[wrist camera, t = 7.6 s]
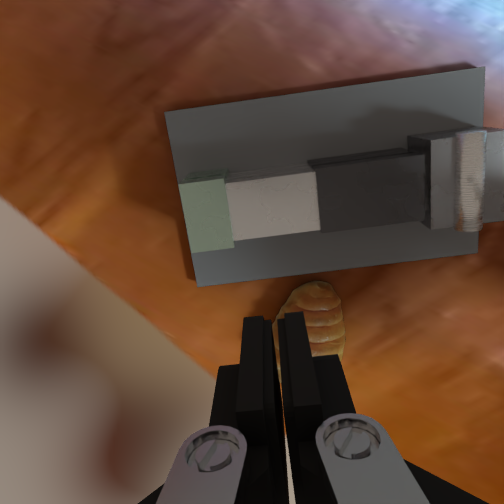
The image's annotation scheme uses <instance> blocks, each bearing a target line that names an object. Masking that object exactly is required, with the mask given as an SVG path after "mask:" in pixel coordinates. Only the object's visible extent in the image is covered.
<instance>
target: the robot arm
mask: <svg viewBox="0 0 504 504" xmlns="http://www.w3.org/2000/svg"><path fill="white" fill-rule="evenodd" d="M277 326H278V341H279V355H280V370H281V384H282V397H281V390H280V382H279V375H278V367H277V360H276V352H275V345H274V337H273V330H272V322H271V320H264V318H263V316H254V317H245V318H244V320H243V332H242V343H241V354H240V364H235V365H225V366H220V367H219V369H218V375H217V381H216V387H215V393H214V399H213V405H212V411H211V417H210V423H209V427H207V428H204V429H201V430H199V431H197V432H195V433H193V434H192V435H191V436H190V437H188V438H187V439H186V440H185V441H184V442H183V444H182V446H181V447H180V449H179V451H178V454H177V456H176V458H175V460H174V463H173V465H172V468H171V470H170V472H169V474H168V477H167V479H166V481H165V483H164V484H163V485H162V486H160V487H159V488H158V489H157V490H155V491H154V492H153V493H151V494H150V495H149V496H147V497H146V498H145V499H143V500H142V501H141V502H139V503H138V504H289V492H288V477H287V463H286V449H285V448H286V447H285V433H284V418H285V426H286V434H287V441H288V448H289V456H290V463H291V471H292V479H293V486H294V494H295V501H296V504H489V503H487V502H485V501H483V500H481V499H479V498H477V497H475V496H473V495H471V494H470V493H468V492H466V491H464V490H462V489H460V488H458V487H456V486H454V485H452V484H450V483H448V482H447V481H445V480H443V479H441V478H439V477H437V476H435V475H433V474H431V473H429V472H427V471H425V470H424V469H422V468H420V467H418V466H416V465H414V464H412V463H410V462H408V461H406V460H404V459H403V458H402V456H401V455H400V453H399V452H398V450H397V448H396V447H395V445H394V443H393V442H392V440H391V438H390V437H389V435H388V433H387V432H386V430H385V429H384V428H383V427H382V426H381V424H380V423H378V422H377V421H375V420H374V419H372V418H370V417H367V416H364V415H361V414H356V411H355V408H354V405H353V401H352V398H351V395H350V391H349V388H348V385H347V382H346V378H345V375H344V372H343V369H342V365H341V362H340V359H339V356H338V354H333V355H323V356H313V357H312V353H311V348H310V343H309V338H308V333H307V328H306V323H305V318H304V313H303V311H299V312H290V313H284V318H282V319H277ZM282 399H283V406H282ZM283 410H284V418H283Z"/></svg>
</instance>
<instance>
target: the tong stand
mask: <svg viewBox="0 0 504 504" xmlns="http://www.w3.org/2000/svg"><path fill="white" fill-rule="evenodd" d="M414 152H418V153H421V154H424V186H425V220H423V221H419V222H421V223H422V224H423V225H425V226H426V227H428V228H429V229H430V230H433V229H441V228H449V227H453V229H454V230H456V231H461V232H475V231H480V230H482V229H483V223H489V222H497V221H504V129H499V128H489V127H479V126H474V127H466V128H459V129H452V130H444V131H437V132H429V133H422V134H415V135H407V149H404V148H401V147H400V148H393V149H385V150H378V151H370V152H363V153H355V154H348V155H340V156H333V157H326V158H318V159H311V160H307V163H301V164H293V165H286V166H279V167H271V168H264V169H256V170H249V171H241V172H234V173H229V171H228V168H224V169H216V170H209V171H201V172H194V173H189V174H188V175H187V176H186V177H185V178H184V179H183V180H189V179H196V178H204V177H211V176H219V175H225V177H226V181H227V180H235V179H242V178H249V177H257V176H264V175H272V174H279V173H287V172H294V171H302V170H309V169H313V166H317V165H324V164H332V163H339V162H347V161H354V160H362V159H369V158H376V157H384V156H391V155H399V154H406V153H414Z"/></svg>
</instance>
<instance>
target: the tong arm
mask: <svg viewBox="0 0 504 504" xmlns="http://www.w3.org/2000/svg"><path fill="white" fill-rule="evenodd" d="M178 185H179V190H180V196H181V201H182V206H183V211H184V217H185V222H186V227H187V232H188V238H189V243H190V248H191V253H197V252H205V251H213V250H221V249H228V248H234V247H235V241H237V240H245V239H253V238H261V237H268V236H276V235H284V234H292V233H300V232H308V231H315V230H320V232H321V233H329V232H337V231H344V230H352V229H360V228H368V227H376V226H384V225H392V224H399V223H407V222H415V221H423V220H425V186H424V154H421V153H418V152H414V153H406V154H399V155H391V156H384V157H376V158H369V159H362V160H354V161H347V162H339V163H332V164H324V165H317V166H313V169H309V170H302V171H294V172H287V173H279V174H272V175H264V176H257V177H249V178H242V179H235V180H227V181H226V177H225V175H219V176H211V177H204V178H196V179H189V180H182V181H181V182H180V183H179V184H178Z"/></svg>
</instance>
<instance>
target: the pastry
mask: <svg viewBox="0 0 504 504" xmlns="http://www.w3.org/2000/svg"><path fill="white" fill-rule="evenodd" d="M299 311H303V313H304V318H305V323H306V328H307V333H308V338H309V343H310V348H311V353H312V357H313V356H323V355H333V354H338V356H339V359H340V362H341V360H342V356H343V348H344V344H345V340H346V338H345V326H344V318H343V314H342V309H341V300H340V298H339V297H338V296H337V294H336V293H335V291H334V289H333V287H332V286H331V285H330V284H329V283H327V282H322V281H312V282H308V283H305V284H303V285H301V286H299V287H298V288H296V289H294V290H293V291H292V293H291V295H290V297H289V298H288V300H287V302H286V303H285V304H284V305H283V306H282V307H281V310H280V312H279V314H278V315H277V316H276V319H275V321H274V323H273V324H272V330H273V337H274V345H275V352H276V360H277V367H278V375H279V382H280V383H281V370H280V355H279V341H278V326H277V319H282V318H284V313H290V312H299Z"/></svg>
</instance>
